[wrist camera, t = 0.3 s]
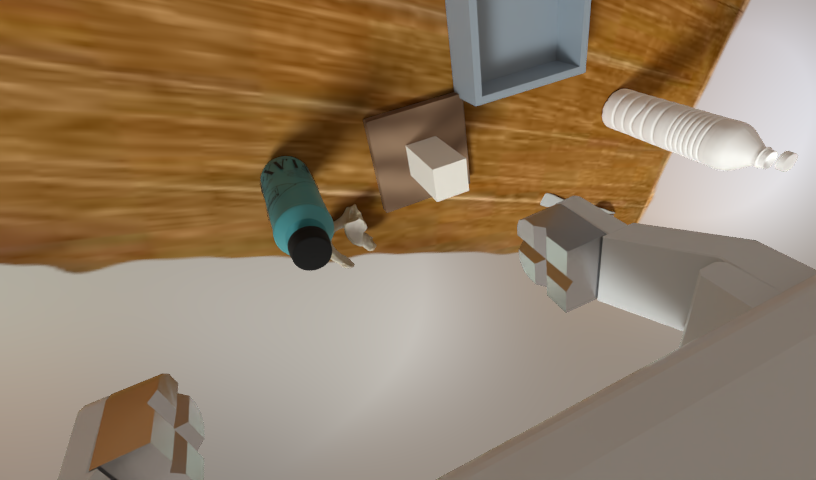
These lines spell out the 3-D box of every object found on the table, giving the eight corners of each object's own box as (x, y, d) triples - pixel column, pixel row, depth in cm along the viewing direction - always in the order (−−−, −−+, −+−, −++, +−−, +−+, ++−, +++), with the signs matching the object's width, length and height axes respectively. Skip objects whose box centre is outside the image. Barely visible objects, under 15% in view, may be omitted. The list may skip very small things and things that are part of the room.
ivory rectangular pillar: (405, 145, 58) (432, 169, 51) (435, 135, 59) (466, 158, 52) (410, 175, 61) (437, 201, 54) (439, 165, 62) (468, 190, 55)
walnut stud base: (362, 119, 56) (374, 130, 52) (457, 91, 59) (474, 99, 55) (383, 208, 64) (394, 223, 60) (465, 179, 67) (481, 192, 63)
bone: (387, 206, 62) (389, 266, 57) (368, 227, 67) (369, 285, 62) (331, 191, 58) (329, 254, 53) (316, 215, 63) (312, 275, 58)
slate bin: (440, -51, 49) (464, -53, 44) (563, -78, 53) (597, -82, 48) (454, 95, 59) (475, 106, 54) (557, 64, 63) (585, 72, 58)
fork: (536, 185, 77) (544, 191, 75) (617, 210, 85) (626, 216, 83) (529, 199, 78) (537, 205, 76) (609, 222, 86) (618, 228, 84)
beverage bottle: (310, 150, 55) (350, 222, 40) (307, 197, 59) (343, 280, 43) (257, 148, 53) (278, 224, 37) (257, 197, 56) (276, 286, 40)
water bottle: (595, 125, 71) (741, 184, 52) (611, 85, 68) (772, 132, 49) (630, 130, 75) (779, 187, 55) (647, 92, 72) (811, 138, 52)
